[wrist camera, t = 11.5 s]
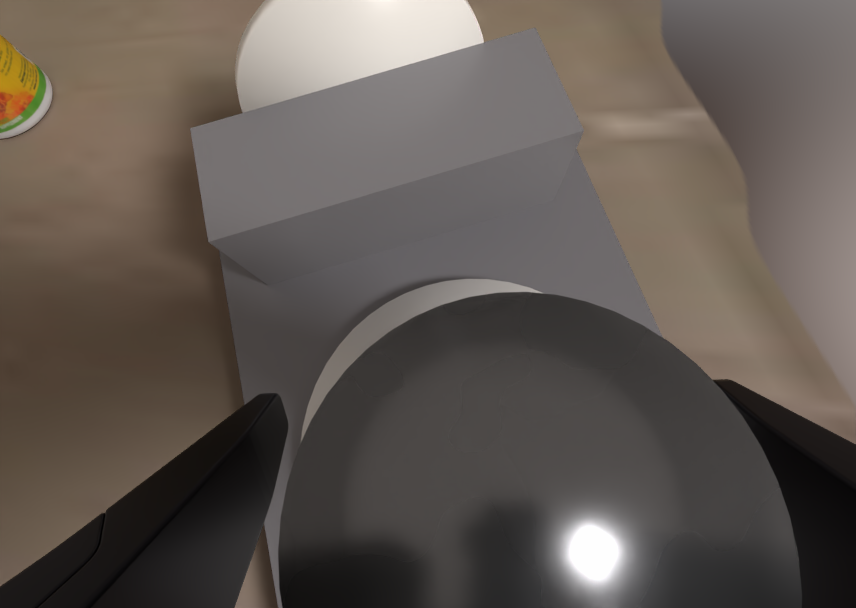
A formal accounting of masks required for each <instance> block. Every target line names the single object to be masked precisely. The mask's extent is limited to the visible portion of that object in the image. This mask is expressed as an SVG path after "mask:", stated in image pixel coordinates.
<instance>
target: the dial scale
mask: <svg viewBox="0 0 856 608" xmlns="http://www.w3.org/2000/svg"><path fill="white" fill-rule="evenodd" d="M235 82H236V87H237V92H238V97H239V102H240V107H241V110H242V112H243V113H241V114H238V115H234V116H231V117H227V118H224V119H220V120H217V121H214V122H210V123H207V124H203V125H200V126H196V127H193V128H190V130H191V136H192V143H193V149H194V155H195V162H196V168H197V174H198V180H199V187H200V193H201V199H202V206H203V212H204V218H205V225H206V231H207V237H208V242H209V243H210V244H212V245H213V246H214V247H216V248H217V249H219V254H220V260H221V266H222V272H223V278H224V284H225V290H226V296H227V302H228V308H229V314H230V320H231V326H232V332H233V338H234V344H235V350H236V356H237V362H238V368H239V374H240V381H241V387H242V393H243V399H244V405H245V404H246V403H248V402H249V401H250V400H252V399H253V398H254V397H256V396H257V395H259V394H262V393H277V394H279V395H280V396H281V399H282V402H283V405H284V409H285V412H286V415H287V419H288V424H289V427H288V434H287V438H286V443H285V447H284V451H283V456H282V460H281V464H280V469H279V473H278V477H277V482H276V486H275V490H274V494H273V498H272V501H271V504H270V507H269V510H268V513H267V516H266V518H265V521H264V525H265V531H266V538H267V544H268V550H269V556H270V562H271V568H272V574H273V580H274V586H275V592H276V598H277V604H278V608H282V602H281V595H280V589H279V563H278V546H279V533H280V519H281V512H282V507H283V502H284V497H285V492H286V486H287V482H288V478H289V475H290V472H291V469H292V466H293V463H294V460H295V456H296V453H297V450H298V448H299V446H300V443H301V441H302V439H303V437H304V435H305V432H306V430H307V428H308V426H309V424H310V421H311V420H312V418H313V416H314V415H315V413H316V411H317V410H318V408H319V406H320V405H321V403H322V401H323V400H324V398H325V396H326V395H327V393H328V392H329V391H330V389H331V388H332V387H333V386H334V384H335V383H336V382H337V381H338V379H339V378H340V377H341V375H342V374H343V373H344V372H345V370H346V369H347V368H348V367H349V366H350V365H351V364H352V363H353V362H354V361H355V360H356V359H357V358H358V357H359V356H360V355H361V354H362V353H363V352H364V351H365V350H366V349H367V348H369V347H370V346H371V345H373V344H374V343H375V342H376V341H378V340H379V339H380V338H382V337H383V336H384V335H386V334H387V333H388V332H389V331H391V330H393V329H394V328H396V327H398V326H399V325H401V324H403V323H404V322H406V321H408V320H410V319H411V318H413V317H415V316H417V315H419V314H421V313H424V312H426V311H428V310H431V309H433V308H435V307H438V306H440V305H443V304H446V303H450V302H453V301H457V300H460V299H464V298H467V297H472V296H479V295H485V294H492V293H502V292H534V293H544V294H555V295H560V296H564V297H569V298H574V299H578V300H583V301H586V302H589V303H592V304H595V305H598V306H601V307H604V308H606V309H609V310H612V311H615V312H617V313H619V314H621V315H623V316H625V317H627V318H629V319H631V320H633V321H635V322H637V323H640V324H642V325H643V326H645V327H647V328H648V329H650V330H651V331H653V332H654V333H656V334H658V335H659V336H661V337H662V335H661V333H660V331H659V328H658V326H657V324H656V322H655V320H654V317H653V315H652V313H651V311H650V309H649V307H648V304H647V302H646V300H645V298H644V296H643V293H642V291H641V289H640V287H639V285H638V283H637V280H636V278H635V276H634V274H633V272H632V269H631V267H630V265H629V263H628V261H627V259H626V256H625V254H624V252H623V250H622V248H621V245H620V243H619V241H618V239H617V237H616V235H615V232H614V230H613V228H612V226H611V224H610V221H609V219H608V217H607V215H606V213H605V211H604V208H603V206H602V204H601V202H600V200H599V197H598V195H597V193H596V191H595V189H594V187H593V184H592V182H591V180H590V178H589V176H588V173H587V171H586V169H585V167H584V165H583V163H582V160H581V158H580V156H579V154H578V152H577V149H576V148H577V146H578V143H579V141H580V139H581V136H582V134H583V132H584V130H583V128H582V125H581V123H580V121H579V119H578V117H577V115H576V113H575V111H574V108H573V106H572V104H571V102H570V100H569V98H568V96H567V94H566V91H565V89H564V87H563V85H562V83H561V81H560V79H559V77H558V74H557V72H556V70H555V68H554V66H553V64H552V62H551V60H550V58H549V55H548V53H547V51H546V49H545V47H544V45H543V43H542V41H541V38H540V36H539V34H538V32H537V30H536V28H532V29H528V30H525V31H522V32H518V33H515V34H511V35H508V36H504V37H501V38H498V39H494V40H491V41H487V42H484V41H483V36H482V33H481V30H480V27H479V24H478V22H477V19H476V17H475V14H474V12H473V10H472V8H471V7H470V5H469V3H468V1H467V0H265V1H264V2H263V3H262V4H261V5H260V7H259V8H258V10H257V11H256V12H255V14H254V15H253V16H252V18H251V19H250V21H249V23H248V25H247V27H246V29H245V31H244V33H243V34H242V37H241V40H240V44H239V47H238V50H237V56H236V62H235ZM662 338H663V337H662Z"/></svg>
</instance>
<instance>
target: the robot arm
mask: <svg viewBox="0 0 856 608" xmlns="http://www.w3.org/2000/svg"><path fill="white" fill-rule="evenodd" d="M713 381H714V382H715V383H716V384H717V385H718V386H719V387H720V388H721V390H722V391H723V392H724V393H725V395H726V396H727V397H728V399H729V400H730V401H731V402H732V404H733V405H734V406H735V407H736V409H737V410H738V411H739V413H740V414H741V415H742V416H743V418H744V420H745V421H746V423H747V424H748V426H749V428H750V429H751V431H752V433H753V434H754V436H755V437H756V439H757V441H758V442H759V444H760V445H761V447H762V449H763V451H764V453H765V455H766V457H767V460H768V462H769V464H770V466H771V468H772V470H773V472H774V474H775V476H776V479H777V481H778V483H779V486H780V489H781V492H782V495H783V498H784V501H785V504H786V507H787V510H788V513H789V516H790V519H791V524H792V528H793V533H794V537H795V542H796V547H797V551H798V556H799V567H800V578H801V588H802V608H856V444H854V443H852V442H850V441H848V440H846V439H844V438H842V437H841V436H839V435H837V434H835V433H833V432H831V431H829V430H827V429H825V428H823V427H821V426H819V425H817V424H815V423H813V422H812V421H810V420H808V419H806V418H804V417H802V416H800V415H798V414H796V413H794V412H792V411H790V410H788V409H786V408H784V407H783V406H781V405H779V404H777V403H775V402H773V401H771V400H769V399H767V398H765V397H763V396H761V395H759V394H757V393H755V392H754V391H752V390H750V389H748V388H746V387H744V386H742V385H740V384H738V383H736V382H734V381H732V380H728V379H720V380H713ZM288 427H289V424H288V419H287V415H286V412H285V409H284V405H283V402H282V399H281V396H280V395H279V394H277V393H262V394H259V395H257V396H256V397H254V398H253V399H252V400H250V401H249V402H248V403H246V404H245V405H244V406H242V407H241V408H240V409H238V410H237V411H236V412H234V413H233V414H232V415H231V416H229V417H228V418H227V419H225V420H224V421H223V422H221V423H220V424H219V425H217V426H216V427H215V428H213V429H212V430H211V431H209V432H208V433H207V434H206V435H204V436H203V437H202V438H200V439H199V440H198V441H196V442H195V443H194V444H192V445H191V446H190V447H188V448H187V449H186V450H185V451H183V452H182V453H181V454H179V455H178V456H177V457H175V458H174V459H173V460H171V461H170V462H169V463H167V464H166V465H165V466H163V467H162V468H161V469H160V470H158V471H157V472H156V473H154V474H153V475H152V476H150V477H149V478H148V479H146V480H145V481H144V482H142V483H141V484H140V485H138V486H137V487H136V488H134V489H133V490H132V491H131V492H129V493H128V494H127V495H125V496H124V497H123V498H121V499H120V500H119V501H117V502H116V503H115V504H113V505H112V506H111V507H109V508H108V509H107V510H106V512H105V513H102V514H100V515H99V516H97V517H96V518H95V519H94V520H92V521H91V522H90V523H88V524H87V525H86V526H84V527H83V528H82V529H80V530H79V531H78V532H76V533H75V534H74V535H72V536H71V537H69V538H68V539H67V540H65V541H64V542H63V543H61V544H60V545H59V546H57V547H56V548H55V549H53V550H52V551H51V552H49V553H48V554H46V555H45V556H43V557H42V558H41V559H39V560H38V561H36V562H35V563H33V564H32V565H31V566H29V567H28V568H26V569H25V570H23V571H22V572H21V573H19V574H18V575H16V576H15V577H13V578H12V579H10V580H9V581H8V582H6V583H5V584H3V585H2V586H0V608H234V607H235V604H236V602H237V599H238V596H239V593H240V590H241V587H242V584H243V582H244V579H245V576H246V573H247V570H248V567H249V564H250V561H251V559H252V556H253V553H254V550H255V547H256V544H257V541H258V539H259V536H260V533H261V530H262V527H263V524H264V521H265V518H266V516H267V513H268V510H269V507H270V504H271V501H272V498H273V494H274V490H275V486H276V482H277V477H278V473H279V469H280V464H281V460H282V456H283V451H284V447H285V443H286V438H287V434H288Z"/></svg>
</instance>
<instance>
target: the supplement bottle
mask: <svg viewBox="0 0 856 608" xmlns="http://www.w3.org/2000/svg"><path fill="white" fill-rule="evenodd" d="M52 95H53V91H52V85H51V82H50V80H49V78H48V77H47V76H46V74H45V73H44V72H43V71H42V70H41V69H40V68H39V67H37V66H36V65H35V64H34V63H33V62H32V61H31V60H29V59H28V58H27V57H26V56H25V55H24V54H22V53H21V52H20V51H19V50H18V49H17V48H15V47H14V46H13V45H12V44H11V43H9V42H8V41H7V40H6V39H5V38H4V37H2V36H1V35H0V139H4V138H9V137H13V136H16V135H19V134H21V133H23V132H25V131H27V130H28V129H30V128H32V127H33V126H34V125H35V124H37V123H38V122H39V121H40V120H41V119H42V118H43V116H44V115H45V114H46V112H47V111H48V109H49V107H50V105H51V101H52Z"/></svg>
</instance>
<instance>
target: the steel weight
mask: <svg viewBox="0 0 856 608" xmlns="http://www.w3.org/2000/svg"><path fill="white" fill-rule="evenodd" d="M278 563H279V589H280V595H281V602H282V608H802V588H801V578H800V567H799V556H798V551H797V547H796V542H795V537H794V533H793V528H792V524H791V519H790V516H789V513H788V510H787V507H786V504H785V501H784V498H783V495H782V492H781V489H780V486H779V483H778V481H777V479H776V476H775V474H774V472H773V470H772V468H771V466H770V464H769V462H768V460H767V457H766V455H765V453H764V451H763V449H762V447H761V445H760V444H759V442H758V441H757V439H756V437H755V436H754V434H753V433H752V431H751V429H750V428H749V426H748V424H747V423H746V421H745V420H744V418H743V416H742V415H741V414H740V413H739V411H738V410H737V409H736V407H735V406H734V405H733V404H732V402H731V401H730V400H729V399H728V397H727V396H726V395H725V393H724V392H723V391H722V390H721V388H720V387H719V386H718V385H717V384H716V383H715V382H714V381H713V380H712V379H711V378H710V377H709V376H708V375H707V374H706V373H705V372H704V371H703V370H702V369H701V368H700V367H699V366H698V365H697V364H696V363H695V362H694V361H692V360H691V359H690V358H689V357H687V356H686V355H685V354H684V353H682V352H681V351H680V350H679V349H677V348H676V347H675V346H674V345H673V344H671V343H670V342H669V341H667V340H665V339H664V338H662V337H661V336H659V335H658V334H656V333H654V332H653V331H651V330H650V329H648V328H647V327H645V326H643V325H642V324H640V323H637V322H635V321H633V320H631V319H629V318H627V317H625V316H623V315H621V314H619V313H617V312H615V311H612V310H609V309H606V308H604V307H601V306H598V305H595V304H592V303H589V302H586V301H583V300H578V299H574V298H569V297H564V296H560V295H555V294H544V293H534V292H502V293H492V294H485V295H479V296H472V297H467V298H464V299H460V300H457V301H453V302H450V303H446V304H443V305H440V306H438V307H435V308H433V309H431V310H428V311H426V312H424V313H421V314H419V315H417V316H415V317H413V318H411V319H410V320H408V321H406V322H404V323H403V324H401V325H399V326H398V327H396V328H394V329H393V330H391V331H389V332H388V333H387V334H386V335H384V336H383V337H382V338H380V339H379V340H378V341H376V342H375V343H374V344H373V345H371V346H370V347H369V348H367V349H366V350H365V351H364V352H363V353H362V354H361V355H360V356H359V357H358V358H357V359H356V360H355V361H354V362H353V363H352V364H351V365H350V366H349V367H348V368H347V369H346V370H345V372H344V373H343V374H342V375H341V377H340V378H339V379H338V381H337V382H336V383H335V384H334V386H333V387H332V388H331V389H330V391H329V392H328V393H327V395H326V396H325V398H324V400H323V401H322V403H321V405H320V406H319V408H318V410H317V411H316V413H315V415H314V416H313V418H312V420H311V421H310V424H309V426H308V428H307V430H306V432H305V435H304V437H303V439H302V441H301V443H300V446H299V448H298V450H297V453H296V456H295V460H294V463H293V466H292V469H291V472H290V475H289V478H288V482H287V486H286V492H285V497H284V502H283V507H282V512H281V519H280V533H279V546H278Z"/></svg>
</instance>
